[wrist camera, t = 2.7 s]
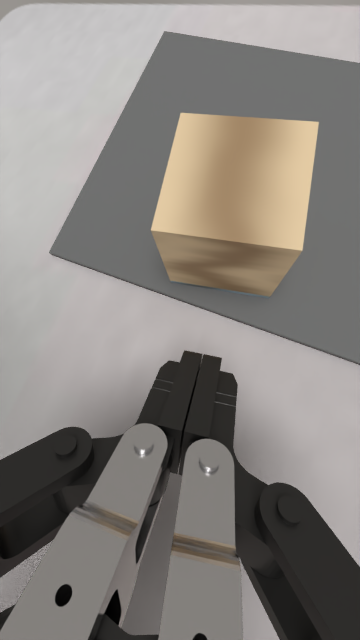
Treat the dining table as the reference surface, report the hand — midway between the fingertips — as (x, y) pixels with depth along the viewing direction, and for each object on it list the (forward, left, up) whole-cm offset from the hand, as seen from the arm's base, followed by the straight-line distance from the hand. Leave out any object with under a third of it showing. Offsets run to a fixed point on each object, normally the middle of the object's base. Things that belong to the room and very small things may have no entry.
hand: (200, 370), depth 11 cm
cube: (-2, +9, -7) cm, 12 cm away
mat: (-2, +16, -8) cm, 18 cm away
